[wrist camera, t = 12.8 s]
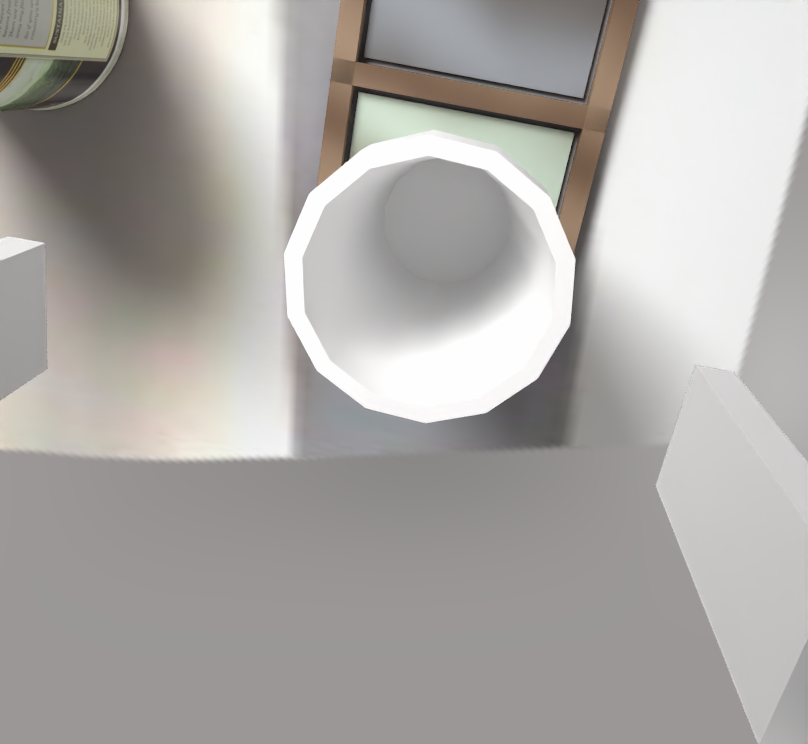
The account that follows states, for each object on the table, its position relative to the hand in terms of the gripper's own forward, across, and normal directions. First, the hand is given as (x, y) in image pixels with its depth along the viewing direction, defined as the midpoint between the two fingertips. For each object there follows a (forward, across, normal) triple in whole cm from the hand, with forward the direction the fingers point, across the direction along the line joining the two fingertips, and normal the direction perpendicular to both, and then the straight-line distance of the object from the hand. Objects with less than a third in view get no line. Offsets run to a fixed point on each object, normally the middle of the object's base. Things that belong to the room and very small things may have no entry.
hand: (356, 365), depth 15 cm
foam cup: (+23, +1, -1) cm, 23 cm away
